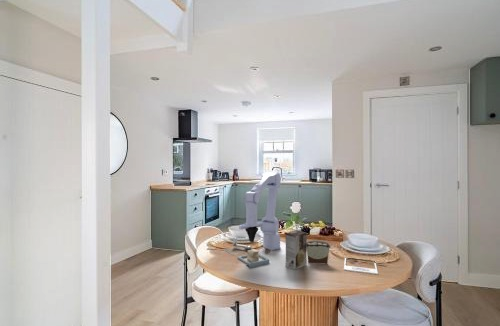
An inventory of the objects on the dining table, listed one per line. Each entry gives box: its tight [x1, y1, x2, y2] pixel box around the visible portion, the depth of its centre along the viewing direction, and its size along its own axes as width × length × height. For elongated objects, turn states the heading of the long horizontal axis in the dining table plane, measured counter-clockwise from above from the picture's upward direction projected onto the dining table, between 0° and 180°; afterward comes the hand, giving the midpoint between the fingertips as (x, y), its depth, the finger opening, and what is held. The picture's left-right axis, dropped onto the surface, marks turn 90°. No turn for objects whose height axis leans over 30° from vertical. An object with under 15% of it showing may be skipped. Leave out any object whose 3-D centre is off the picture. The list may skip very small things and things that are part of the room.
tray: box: [237, 253, 271, 269], centre depth 144 cm, size 12×12×2 cm
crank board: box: [222, 246, 254, 256], centre depth 160 cm, size 15×13×2 cm
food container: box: [306, 240, 331, 265], centre depth 146 cm, size 12×6×10 cm, turn 84°
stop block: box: [246, 248, 260, 263], centre depth 145 cm, size 4×4×5 cm
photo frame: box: [343, 257, 379, 275], centre depth 140 cm, size 15×1×18 cm
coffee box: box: [285, 230, 308, 271], centre depth 140 cm, size 9×6×16 cm
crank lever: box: [232, 237, 253, 249], centre depth 162 cm, size 12×3×5 cm, turn 62°
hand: (251, 241), depth 148 cm, fingers closed
